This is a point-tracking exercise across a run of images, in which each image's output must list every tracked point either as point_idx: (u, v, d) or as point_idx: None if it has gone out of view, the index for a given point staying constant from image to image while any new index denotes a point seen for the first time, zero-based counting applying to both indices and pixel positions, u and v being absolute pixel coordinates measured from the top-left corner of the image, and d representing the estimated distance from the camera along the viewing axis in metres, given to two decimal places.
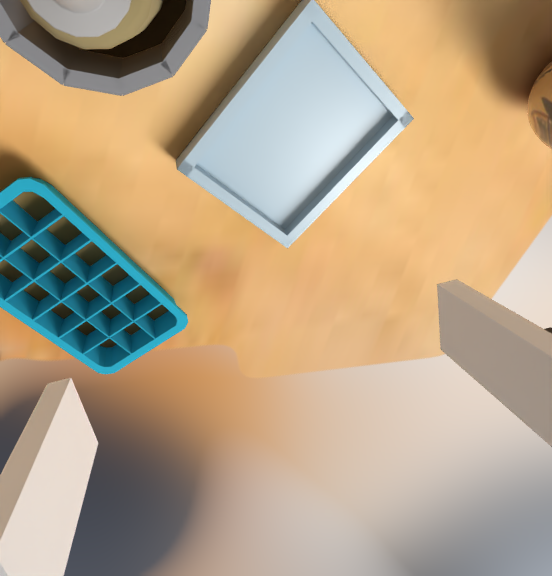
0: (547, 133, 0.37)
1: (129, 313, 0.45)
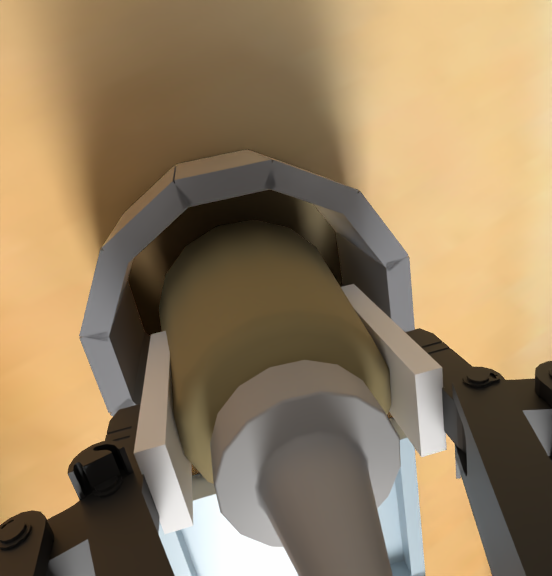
0: None
1: None
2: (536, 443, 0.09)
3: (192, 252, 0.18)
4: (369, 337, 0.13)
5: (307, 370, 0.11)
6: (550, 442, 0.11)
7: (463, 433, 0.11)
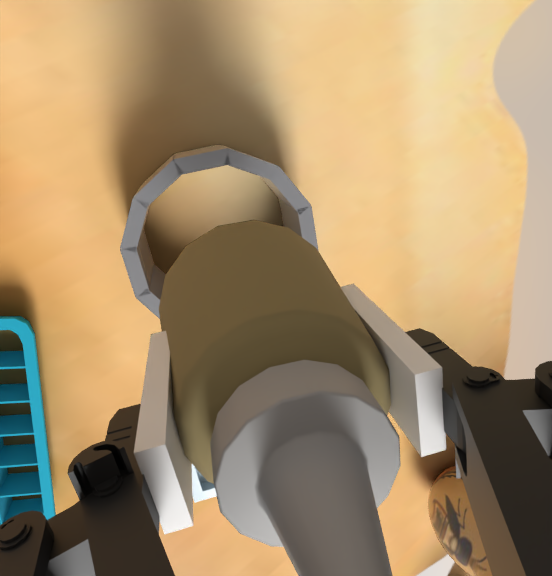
0: (441, 526, 0.44)
1: None
2: (536, 443, 0.09)
3: (192, 252, 0.18)
4: (369, 337, 0.13)
5: (306, 370, 0.11)
6: (550, 442, 0.11)
7: (463, 433, 0.11)
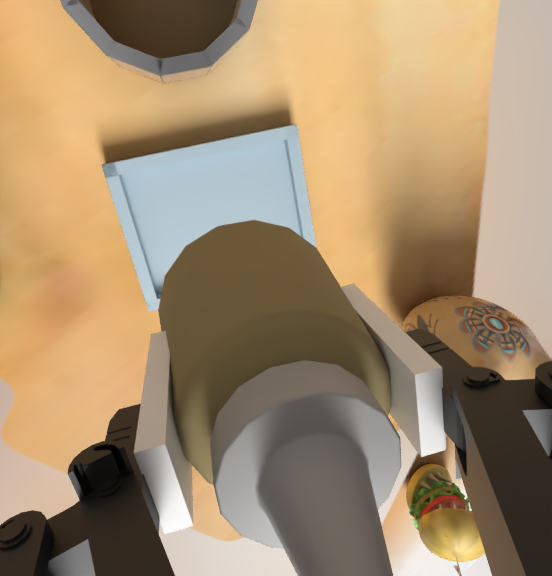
0: None
1: None
2: (536, 443, 0.09)
3: (192, 252, 0.18)
4: (369, 337, 0.13)
5: (307, 371, 0.11)
6: (550, 442, 0.11)
7: (463, 433, 0.11)
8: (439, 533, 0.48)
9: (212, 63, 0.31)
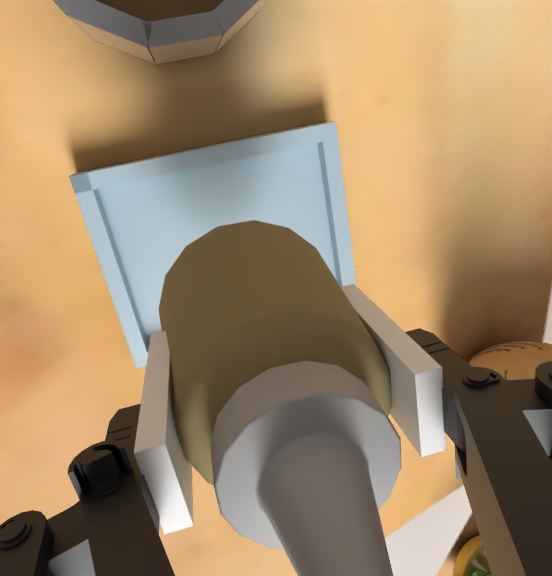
0: None
1: None
2: (536, 443, 0.09)
3: (192, 253, 0.18)
4: (370, 338, 0.13)
5: (307, 371, 0.11)
6: (550, 442, 0.11)
7: (463, 433, 0.11)
8: None
9: (225, 30, 0.21)
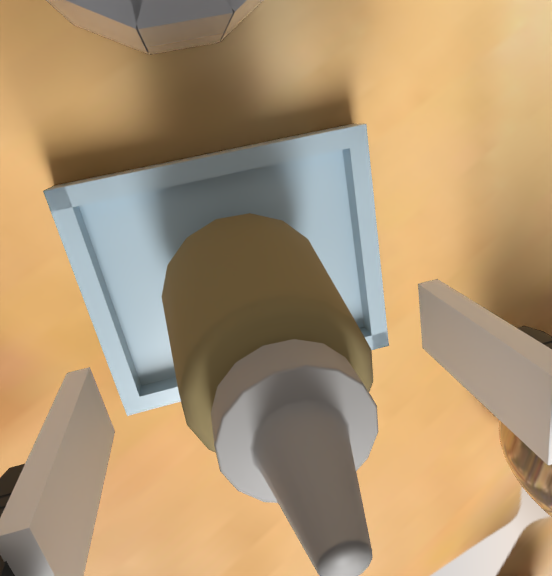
0: (531, 461, 0.27)
1: None
2: None
3: (193, 244, 0.20)
4: (352, 320, 0.14)
5: (295, 348, 0.12)
6: None
7: None
8: None
9: (236, 6, 0.16)
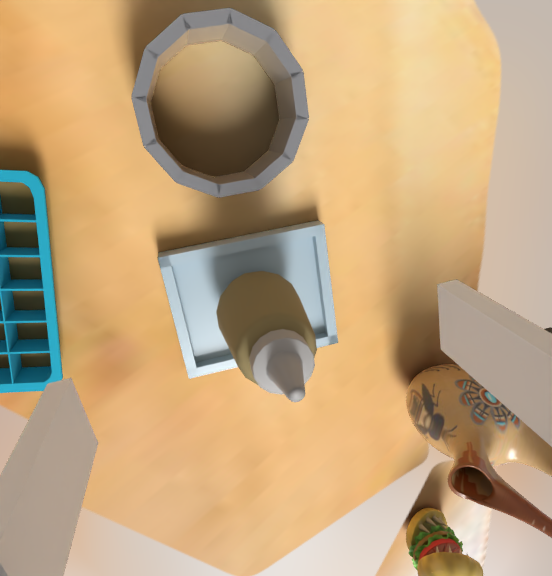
0: (417, 409, 0.48)
1: (10, 343, 0.41)
2: None
3: (235, 286, 0.40)
4: (307, 322, 0.35)
5: (283, 332, 0.33)
6: None
7: None
8: (436, 574, 0.53)
9: (261, 187, 0.37)
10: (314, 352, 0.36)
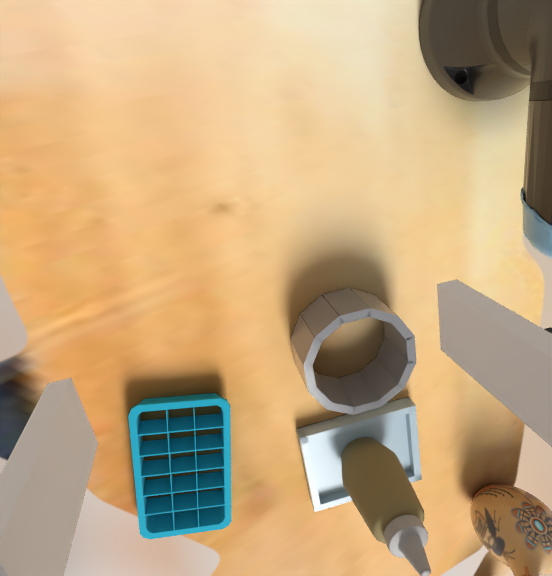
0: (482, 529, 0.64)
1: None
2: None
3: (358, 462, 0.57)
4: (419, 504, 0.52)
5: (407, 518, 0.50)
6: None
7: None
8: None
9: (382, 405, 0.53)
10: None
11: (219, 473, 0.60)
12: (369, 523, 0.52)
